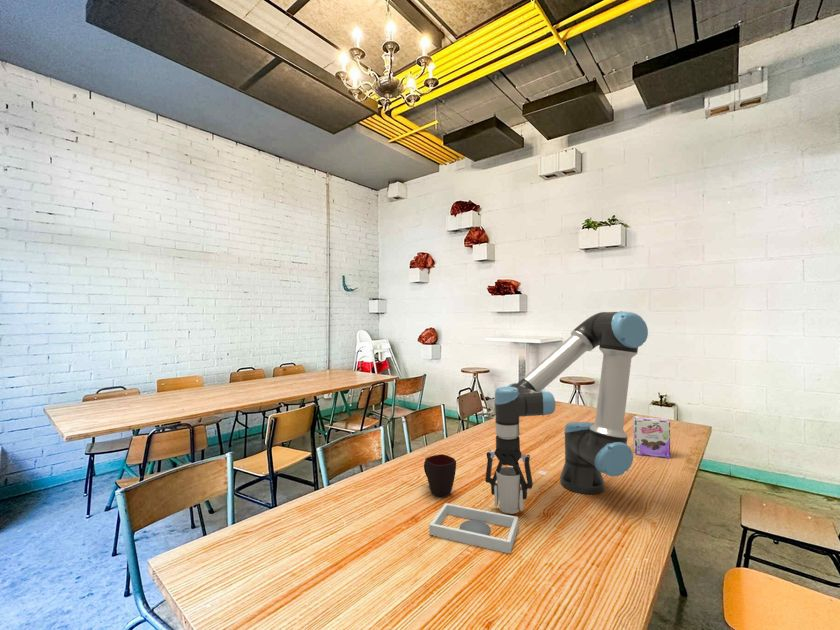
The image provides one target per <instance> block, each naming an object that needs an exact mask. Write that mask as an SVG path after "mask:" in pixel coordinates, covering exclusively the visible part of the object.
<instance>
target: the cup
mask: <svg viewBox="0 0 840 630" xmlns="http://www.w3.org/2000/svg"><path fill="white" fill-rule="evenodd" d="M495 471H496V470H495ZM496 476H497V480H496V483H497V485H498V495H499V503H498V508H499V510H500V511H501V512H502V513H504V514H510V515H512V514H517V513H519V512H520V488H521V484H520V482H519V481H520V474H519V475H517V474H516V472H515V470H514V468H513V466H502V467H501V470H500V472H499V473H498V472H497V471H496Z"/></svg>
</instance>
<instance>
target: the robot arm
mask: <svg viewBox="0 0 840 630" xmlns="http://www.w3.org/2000/svg"><path fill="white" fill-rule="evenodd" d="M648 335H649V329H648V326H647V323H646V321H645V320H644V319H643V317H641V315H639V314H637V313H636V312H630V311H622V310H621V311H601V312H597V313H595V314H593V315H591V316H589V317H588V318H587V319H585V320H584V321H583V322H582V323H580V324H579V325H577V327H575V328H574V329H573V330H572V331H571V332H570V336H569V337H568V338H567V339H566V340H565V341H564V342H563V343H561V344H560V345H559V346H558V347H557V348H556V349H554V350H553V351H552V352H551V353H550V354H548V356H547V357H546V358H544V359H543V360H542V361H541V362H540V363H539V364H537V365H536V366H535V367H534V368H533V369H532V370H531V371H529V372H528V373H527V374H526V375H525V376H524V377H523V378H522V379H521V380H519V381H518V382H515V383H513V382H512V383H510V384H508V385H507V386H499V387H497V388H496V389H495V391H494V412H495V435H496V436H495V450H490V449H489V450H488V451H487V452H486V459H487V463H486V472H485V483H487V484H490V485H491V486H490V489H491V490H490V491H491V493H490V494H491V495H493V496H494V507H499V495H498V485H497V476H496V471H497V472H498V473H499V472H500V470H501V467H503V466H508V467H513V468H514V470H515V472H516V474H517V475H519V474H520V481H519V482H520V503H519V512H520V511H522V512H523V511H524V509H525V501H526V500H527V498H528V490H531V489H532V488H533V486H534V483H533V479H532V478H533V477H532V471H531V465H530V460H531V455H530V454H523V453H522V451H521V448H520V447H521V444H520V443H521V442H520V439H521V438H520V434H521V433H520V417H521V418H522V417H535V416H543V417H544V416H546V415H548V416H549V415H552V414H553V413H554V412H555V411H556V400H555V397H554V394H553V393H552V392H550V391H548V390H547V391H543V390H544V389H545V388H546V387H548V386H549V384H551V383H552V382H553V381H554V380H555V379H556V378H558V377H559V376H560V375H561V374H562V373H564V371H565V370H567V369H568V368H569V367H570V366H571V365H573V363H574V362H576V361H577V360H578V359H579V358H580V357H582V356H583V354H585V353H586V352H592V350H594V349H595V348H596V347H598V346H599V350H600V352H601V353H602V362H601V371H600V372H601V373H600V379H599V387H598V398H597V405H596V413H595V421H594V422H587V421H572V422H568V423H566V424H565V427H564V464H563V467H562V471H561V472H560V475H559V479H560V481H559V482H560V485H561V486H562V487H563V488H565V489H566V490H569V491H572V492H575V493H579V494H584V495H596V494H600V493H602V492H604V490H605V481H604V477H603V475H602V474H605V475H606V476H609V477H619V476H622V475H623V474H625V472H629V471H628V470H630V468H631V467H632V465H633V462H634V453H633V452H634V451H633V450H631V447H630V446H629V445H628V434H627V433H626V432H625V430H624V425H625V424H624V423H625V415H626V407H627V400H628V398H627V397H628V393H629V392H628V391H629V382H630V372H631V365H632V364H631V363H632V358H634V357H635V356H636V355H637V354H638V352H639V347H642V346H643V345H644V343H646V341H647V339H648V337H649V336H648ZM495 456H496V458H497V460H498V464H497V466H496V469H495V472H494V473H493V476H492V471H493V470H492V469H493V461H494V458H495ZM520 459H521V460H522V462H523V463H524V465H523V466H524V470H525V476H526V477H524V474H523V472H522V470H521V467H520V463H519V461H520ZM525 478H526V479H525ZM524 500H525V501H524Z"/></svg>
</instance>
